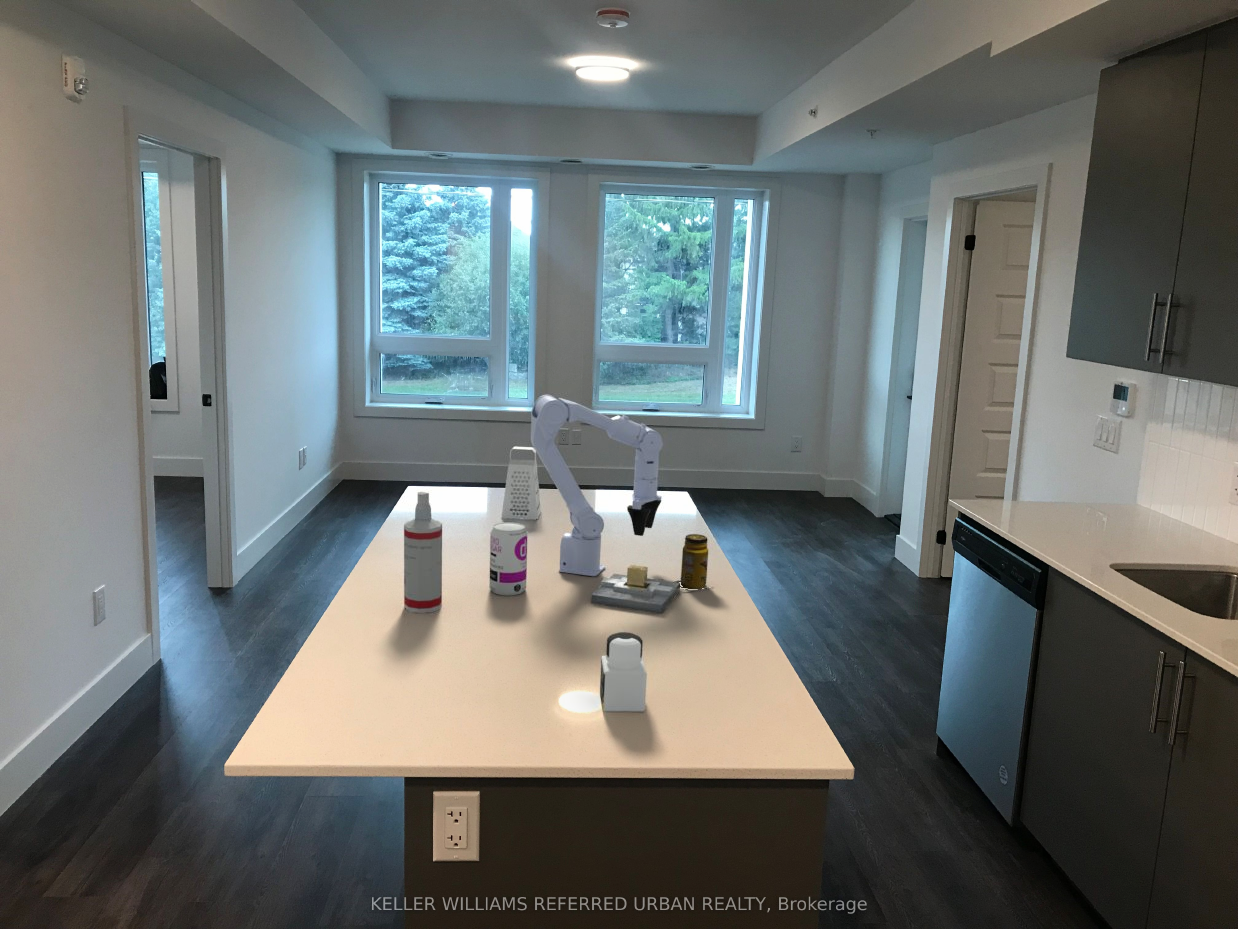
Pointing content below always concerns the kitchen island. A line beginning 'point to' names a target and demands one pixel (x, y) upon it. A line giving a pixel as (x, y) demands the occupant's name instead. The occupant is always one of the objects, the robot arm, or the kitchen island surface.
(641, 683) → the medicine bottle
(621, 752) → the kitchen island surface
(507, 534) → the supplement can
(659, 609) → the grey square plate
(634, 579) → the wooden rectangular block
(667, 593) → the bracket
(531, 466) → the grater
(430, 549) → the spray bottle
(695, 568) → the condiment
